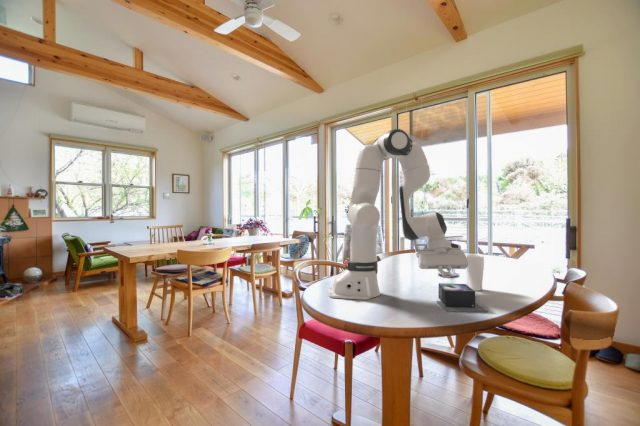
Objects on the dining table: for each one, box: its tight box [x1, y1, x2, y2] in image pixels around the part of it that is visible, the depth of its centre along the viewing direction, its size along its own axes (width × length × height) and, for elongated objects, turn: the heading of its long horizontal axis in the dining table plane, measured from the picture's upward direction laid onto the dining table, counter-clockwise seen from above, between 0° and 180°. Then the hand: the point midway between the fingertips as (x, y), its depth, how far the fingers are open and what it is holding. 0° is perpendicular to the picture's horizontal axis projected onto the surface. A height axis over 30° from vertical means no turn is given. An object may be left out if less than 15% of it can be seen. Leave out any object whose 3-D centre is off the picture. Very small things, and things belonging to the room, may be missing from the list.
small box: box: [438, 282, 476, 308], centre depth 115 cm, size 11×6×10 cm
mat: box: [436, 300, 489, 313], centre depth 112 cm, size 14×11×1 cm
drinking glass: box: [466, 254, 485, 292], centre depth 135 cm, size 7×7×15 cm
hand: (447, 276), depth 125 cm, fingers closed
